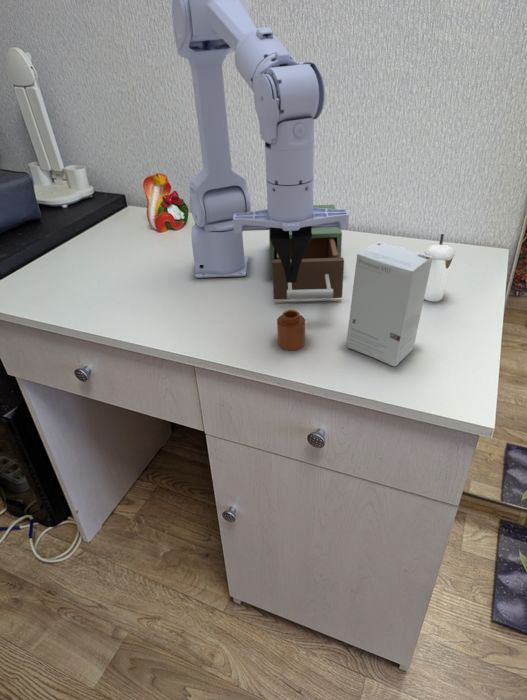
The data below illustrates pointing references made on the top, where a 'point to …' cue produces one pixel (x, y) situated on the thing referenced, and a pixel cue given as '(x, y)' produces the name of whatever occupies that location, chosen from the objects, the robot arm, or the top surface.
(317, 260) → the drawer
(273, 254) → the cabinet
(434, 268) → the milkshake
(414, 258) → the cosmetic box
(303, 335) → the spice bottle
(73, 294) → the top surface
